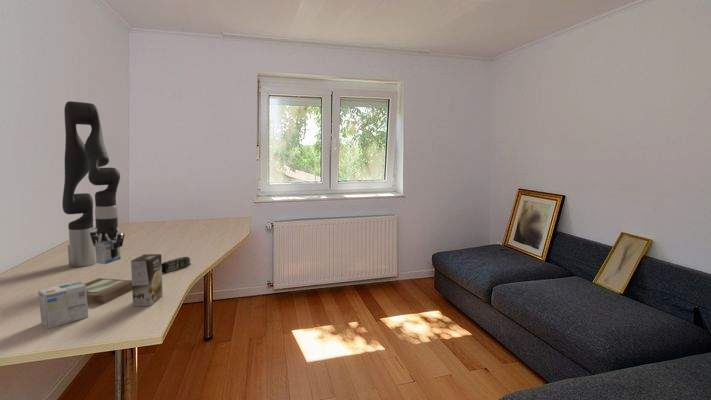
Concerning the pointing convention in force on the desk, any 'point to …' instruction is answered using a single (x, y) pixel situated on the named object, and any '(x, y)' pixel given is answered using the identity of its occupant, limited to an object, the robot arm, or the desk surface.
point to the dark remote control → (175, 264)
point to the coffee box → (146, 279)
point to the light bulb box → (63, 304)
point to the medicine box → (105, 253)
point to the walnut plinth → (106, 289)
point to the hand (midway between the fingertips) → (108, 256)
